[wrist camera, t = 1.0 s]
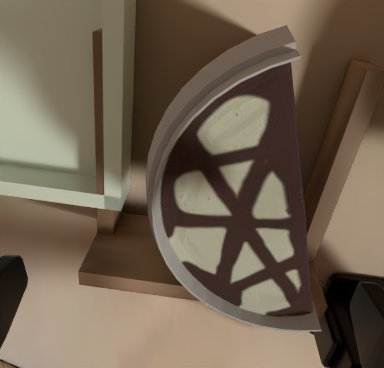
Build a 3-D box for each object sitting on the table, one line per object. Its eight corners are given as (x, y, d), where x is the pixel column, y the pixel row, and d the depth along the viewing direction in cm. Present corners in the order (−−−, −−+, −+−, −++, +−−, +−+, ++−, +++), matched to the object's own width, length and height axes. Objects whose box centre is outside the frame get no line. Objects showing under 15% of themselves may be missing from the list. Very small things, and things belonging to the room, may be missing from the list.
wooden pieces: (369, 62, 18) (427, 94, 13) (301, 248, 25) (322, 318, 20) (107, 25, 18) (63, 43, 13) (108, 221, 25) (79, 284, 20)
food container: (144, 36, 19) (79, 84, 10) (260, 7, 17) (299, 34, 9) (195, 220, 24) (182, 350, 16) (284, 207, 23) (322, 339, 15)
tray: (142, -180, 14) (127, -210, 12) (130, 189, 23) (120, 211, 21) (-147, -220, 14) (-214, -257, 12) (-46, 164, 23) (-74, 184, 21)
